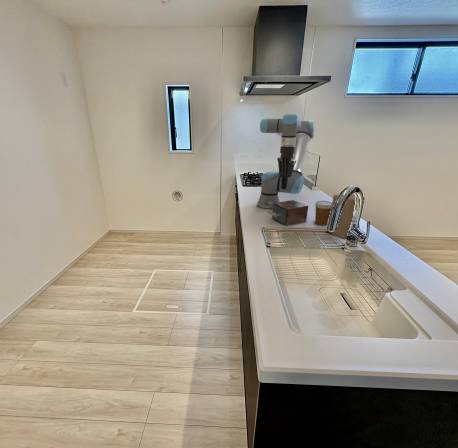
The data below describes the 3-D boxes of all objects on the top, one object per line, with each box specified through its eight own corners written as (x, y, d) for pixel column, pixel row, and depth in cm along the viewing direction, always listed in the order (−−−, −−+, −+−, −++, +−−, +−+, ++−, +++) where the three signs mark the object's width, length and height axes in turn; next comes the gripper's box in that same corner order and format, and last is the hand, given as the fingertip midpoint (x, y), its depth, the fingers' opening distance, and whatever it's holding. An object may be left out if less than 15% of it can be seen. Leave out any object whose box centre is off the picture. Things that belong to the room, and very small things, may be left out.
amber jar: (327, 220, 140) (330, 200, 136) (332, 226, 132) (336, 205, 127) (310, 219, 141) (313, 200, 137) (314, 225, 133) (318, 205, 128)
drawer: (277, 225, 131) (278, 212, 128) (264, 219, 140) (265, 206, 137) (302, 220, 138) (304, 207, 135) (289, 214, 148) (290, 202, 145)
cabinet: (286, 225, 133) (288, 209, 129) (272, 218, 143) (273, 203, 140) (306, 221, 139) (308, 205, 135) (291, 214, 149) (293, 200, 146)
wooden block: (356, 235, 121) (365, 197, 114) (343, 239, 117) (351, 199, 109) (339, 228, 129) (346, 192, 122) (326, 231, 125) (333, 194, 118)
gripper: (274, 145, 131) (271, 187, 141) (290, 147, 121) (286, 192, 130) (285, 144, 134) (281, 185, 144) (301, 146, 124) (296, 190, 133)
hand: (283, 188), depth 137 cm, fingers closed
